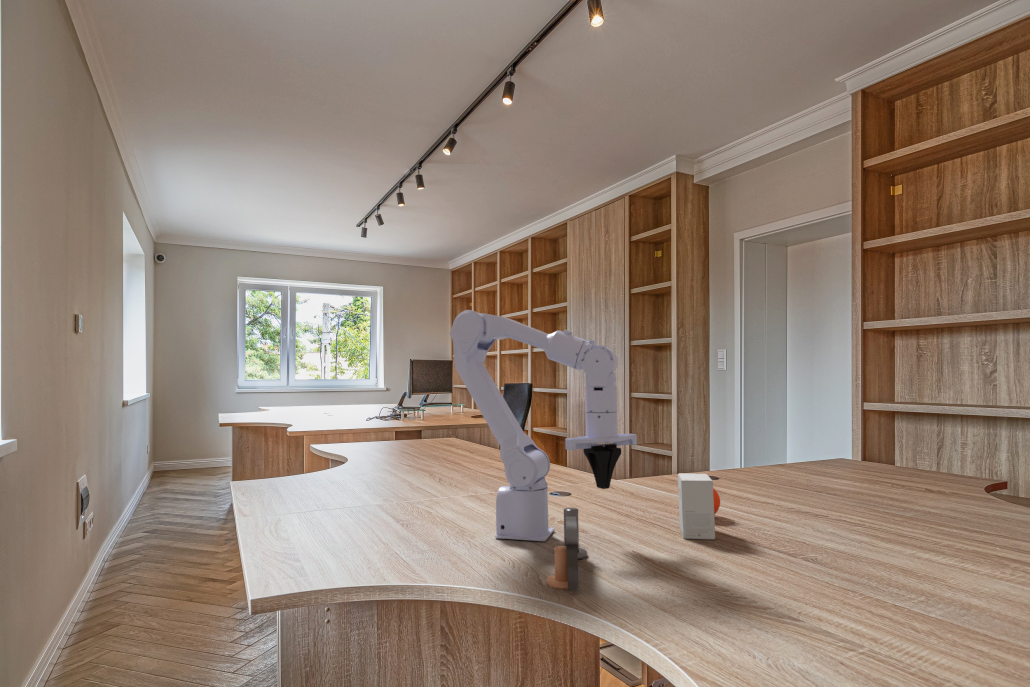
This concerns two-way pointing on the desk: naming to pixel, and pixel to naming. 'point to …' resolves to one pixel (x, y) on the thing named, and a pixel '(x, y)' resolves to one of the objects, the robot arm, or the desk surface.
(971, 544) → the desk surface
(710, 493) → the small box
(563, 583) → the post
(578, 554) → the gate post
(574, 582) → the gate leaf
